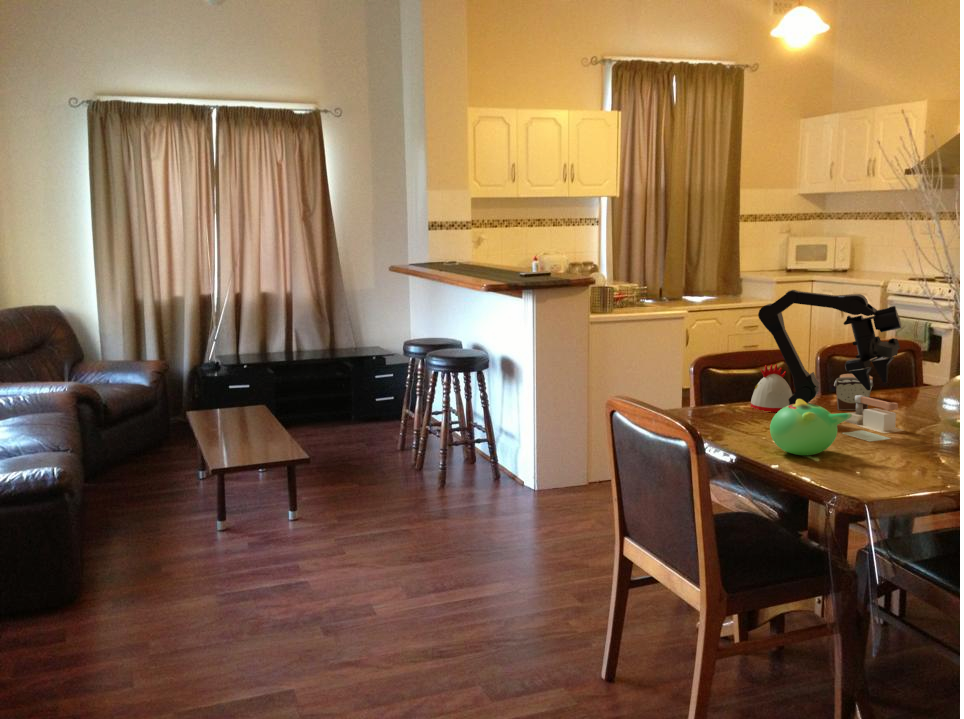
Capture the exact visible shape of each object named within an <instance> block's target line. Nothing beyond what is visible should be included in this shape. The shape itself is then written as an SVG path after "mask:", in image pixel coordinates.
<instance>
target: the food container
mask: <svg viewBox="0 0 964 719" xmlns="http://www.w3.org/2000/svg"><path fill="white" fill-rule="evenodd" d="M870 384H871V386H872V387H874V383H873V380H870ZM833 386H834V387H835V391H836V392H835V393H836V409H837V410H838V411H856V402H855V396H856V395H862V396H865V397H869V398H870V396H871V391H870V390H866V388H865V387H864V386H863V385H862V384H861V383H860V381H859V380H858V379H857V378H855V377H843V378H840V377H838V378H836V379H835V381H834V384H833ZM868 406H869V405H868V404H863V411H864V409H869V408H868Z"/></svg>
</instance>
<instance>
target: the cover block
mask: <svg viewBox="0 0 964 719" xmlns="http://www.w3.org/2000/svg"><path fill="white" fill-rule="evenodd" d="M896 418H897V413H896V412H894V411H893V412H892V411H890V410H889V411H888V410H884V409H882V408H878V407H876V408H875V407H874V408H872V407H871V408H867V409H864V410H863V424H862V425H863V426H866V427H870V428H874V429H877V430H881V431H888V430H895V428H896V421H897V419H896Z"/></svg>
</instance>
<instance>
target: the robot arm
mask: <svg viewBox="0 0 964 719" xmlns="http://www.w3.org/2000/svg"><path fill="white" fill-rule="evenodd" d="M793 304H797V305H804V306H812V307H819V308H821V307H822V308H830V309H834V310H837V311H840V312H842V313H846V314H848V315H847V316H846V319H845V321H844V322H843V325H845V326H846V325H851V329H852V333H853V338H854V341H852V345H853V346H856V349H857V353H858V354H856V355H855V358H852V359H849V360H847V361H845V363H844V368H845V371H846V372H848V374H853V375H854V376H855V377H856V378H857V379H858V380H859V381H860V383H861V384H862V385H863V386H864V387H865V388H866V390H871V391H872V388H871V384H870V377H869V376H870V372H871V369H872V367H874V368H875V371H876V372H877V375H878V377H880V380H881V382H882V383H883V384H886V383H888V377H889V367H890V363H891V362H892V361H893V360H894V359H895V357H896V356H898V351H899V350H900V349H901V346H900V343H899V340H898V338H894V337H892V338H890V339H889V340H888V341H887V340H885V341H882V340H881V337H880V336H879V335H878V336H877V335H876V334H875V333H876V332H875V330H877V331H880V333H885V332H889V331H894V330H899V329H902V322H901V317H900V315H899V313H898V310H897V307H896V306H895V305H893V306H889V307H885V308H882V309H877V308H875V306H873V305H871V304H870V303H869V301H868V299H867V297H866V296H864V295H863V294H861V293H853V294H852V293H851V294H839V295H837V294H836V295H833V294H826V293H817V292H808V291H799V290H796V289H791V290H788V291H787V292H785V294H784V295H783V296H781V297H780V298H778V299H777V300H775V301H774V302H772V303H768V304H766V305H764V306H762V307H760V309H759V311H758V314H757V315H758V320H759V321H760V322H761V323H762V325H763V326H764V328H765V329H766V330H768V332H769V333H771V335H772V336H773V339H774V342H775V343H776V345H777V347H778V349H779V351H780V353H781V355H782V357H783V359H784V361H785V363H786V365H787V367H788V369H789V372H790V373H791V377H792V380H793V381H792V382H793V387H794V389H795V390H794V391H795V392H794V393H792V396H791V397H790V398H789V399H788V400H789V405H792V404H795V403H796V400H797V399H802V400H804V401H805V402H806V403H809V404H812V403H811V401H812V400H813V399H814V398H815V397H816V396H817V395H818V394H819V391H820V386H819V385H820V382H819V381H818V380H817V378H816V375H815V372H814V371H813V372H810V373H809V372H808V370H807V369H806V368H805V367H804V364H803V361H802V360H801V357H800V356H799V354H798V352H797V350H796V349H795V346H794V344H793V342H792V340H791V337H790V336H789V334H788V332H787V330H786V325H785V321H784V316H783V312H784V311H786V310H787V309H788V308H790V307H791V306H792V305H793ZM849 314H850V315H849ZM851 315H852V316H851ZM853 315H854V316H853ZM863 316H865V317H863ZM872 320H873V321H872ZM874 328H875V329H874ZM871 363H872V365H873V366H870V365H871Z"/></svg>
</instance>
